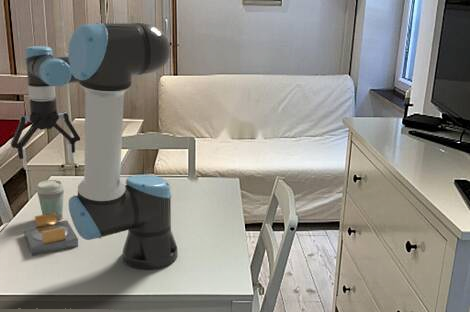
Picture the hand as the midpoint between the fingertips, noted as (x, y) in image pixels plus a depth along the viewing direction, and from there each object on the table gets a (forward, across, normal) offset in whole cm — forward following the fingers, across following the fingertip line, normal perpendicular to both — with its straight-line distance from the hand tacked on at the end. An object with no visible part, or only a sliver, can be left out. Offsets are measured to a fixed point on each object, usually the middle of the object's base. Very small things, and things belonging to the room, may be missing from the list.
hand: (48, 165), depth 163 cm
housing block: (+18, +4, +16) cm, 25 cm away
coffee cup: (+18, 0, 0) cm, 18 cm away
